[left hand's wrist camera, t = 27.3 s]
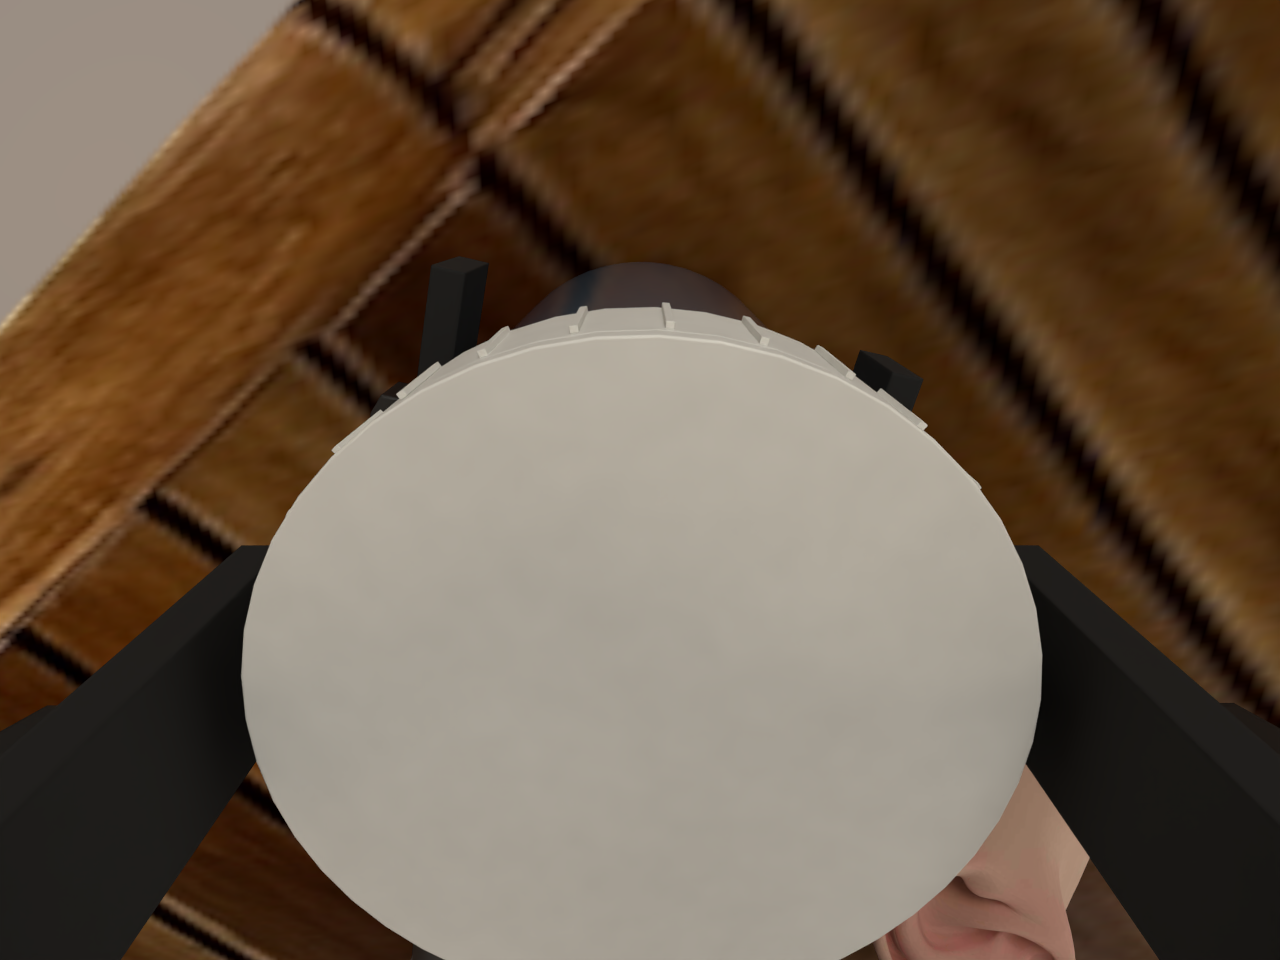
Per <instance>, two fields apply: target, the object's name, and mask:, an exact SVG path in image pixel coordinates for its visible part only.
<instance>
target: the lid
mask: <svg viewBox="0 0 1280 960" xmlns="http://www.w3.org/2000/svg"><path fill="white" fill-rule="evenodd" d="M855 375H856V374H855V373H854V372H852V371H851V370H850V369H849V368H848V367H846V366H845V365H844V364H843V363H841V362H840V361H839V360H838V359H836V358H835V357H834V356H833V355H832V354H830V353H829V352H828V351H827V350H825V349H824V348H823V347H821V346H819V345H817V347H816V349H815V350H813V349H811V348H810V347H808V346H806V345H804V344H803V343H801V342H799V341H796V340H794V339H791V338H789V337H786V336H784V335H781V334H778V333H776V332H773V331H771V330H768V329H766V328H763V327H760V326H758V325H757V324H756V323H755V322H754V321H753V320H752V319H751V318H750V317H747V316H743V318H742V321H740V320H736V319H731V318H727V317H723V316H719V315H715V314H711V313H707V312H699V311H689V310H679V309H671V306H670V303H662V308H659V307H641V308H609V309H600V310H594V311H588V308H587V306H582V307H580V308H579V309H578V311H577V313H575V314H569V315H563V316H557V317H553V318H550V319H547V320H543V321H540V322H537V323H534V324H531V325H527V326H524V327H521V328H518V329H514V330H511V331H510V329H509V327H508V326H506V327H504V328H502V329H500V330H499V331H498V332H497V333H496V334H495V335H494V336H493V337H492V338H491V339H490V340H489V341H486V342H484V343H482V344H480V345H478V346H476V347H474V348H471V349H469V350H467V351H465V352H463V353H462V354H460V355H459V356H457V357H456V358H454V359H453V360H451V361H449V362H448V363H446V364H445V365H443V366H442V367H441V365H440V364H439V362H436V363H435V364H433V365H432V366H431V367H429V368H428V369H427V370H426V371H424V372H423V373H422V374H421V375H419V376H418V377H417V378H416V379H414V380H413V381H412V382H411V383H409V384H408V385H407V386H406V387H404V388H403V389H402V390H401V391H399V392H398V393H397V394H396V395H397V396H398V397H399V399H398V400H397V401H396V402H395V403H393V404H392V405H391V406H390V407H389V408H387V409H386V410H385V411H384V412H383V411H382V410H379V411H378V412H377V413H375V414H374V415H373V416H372V417H371V418H369V419H368V420H367V421H366V422H364V423H363V424H362V425H361V426H359V427H358V428H357V429H356V430H354V431H353V432H352V433H351V434H350V435H348V436H347V437H346V438H345V439H343V440H342V441H341V442H340V443H338V444H337V445H336V446H335V447H334V448H333V449H332V452H334V453H335V454H334V455H333V456H332V457H331V458H330V459H329V461H328V462H327V463H326V464H325V465H324V466H323V468H322V469H321V470H320V471H319V472H318V474H317V475H316V476H315V477H314V478H313V480H312V481H311V482H310V483H309V484H308V485H307V487H306V488H305V489H304V490H303V491H302V493H301V494H300V495H299V496H298V498H297V499H296V501H295V503H294V504H293V506H292V508H291V509H290V510H289V511H288V512H287V514H286V517H285V519H284V521H283V522H282V524H281V526H280V527H279V529H278V531H277V532H276V534H275V536H274V537H273V539H272V541H271V544H270V546H269V549H268V551H267V554H266V556H265V559H264V561H263V564H262V566H261V568H260V571H259V573H258V576H257V578H256V581H255V583H254V587H253V591H252V596H251V600H250V605H249V609H248V614H247V618H246V623H245V627H244V636H243V653H242V671H241V679H242V689H243V699H244V709H245V719H246V723H247V727H248V731H249V735H250V738H251V742H252V746H253V750H254V754H255V758H256V761H257V764H258V766H259V768H260V771H261V773H262V776H263V778H264V780H265V783H266V785H267V787H268V790H269V792H270V794H271V797H272V799H273V801H274V803H275V805H276V806H277V808H278V810H279V811H280V813H281V815H282V816H283V818H284V819H285V821H286V823H287V824H288V826H289V828H290V829H291V831H292V833H293V834H294V836H295V838H296V839H297V840H298V841H299V843H300V844H301V845H302V846H303V848H304V849H305V850H306V851H307V853H308V854H309V855H310V857H311V858H312V859H313V860H314V862H315V863H316V864H317V865H318V867H319V868H320V869H321V870H322V871H323V872H324V873H325V874H326V875H327V876H328V877H329V878H330V879H331V880H332V881H333V882H334V883H335V884H336V885H337V886H338V887H339V888H340V889H341V890H342V891H343V892H344V893H345V894H346V895H347V896H348V897H349V898H350V899H351V900H352V901H354V902H355V903H356V904H357V905H359V906H360V907H361V908H363V909H364V910H365V911H366V912H368V913H369V914H370V915H372V916H373V917H374V918H375V919H377V920H378V921H379V922H381V923H382V924H383V925H384V926H386V927H387V928H389V929H391V930H392V931H394V932H395V933H397V934H399V935H400V936H402V937H404V938H405V939H407V940H408V941H410V942H412V943H413V944H415V945H416V946H418V947H420V948H421V949H423V950H425V951H427V952H429V953H432V954H434V955H436V956H438V957H440V958H442V959H444V960H840V959H842V958H844V957H846V956H848V955H850V954H852V953H853V952H855V951H857V950H859V949H861V948H863V947H864V946H866V945H868V944H870V943H872V942H874V941H876V940H877V939H879V938H881V937H882V936H883V935H885V934H886V933H888V932H889V931H891V930H892V929H894V928H895V927H897V926H898V925H899V924H901V923H902V922H904V921H905V920H907V919H908V918H910V917H911V916H913V915H914V914H915V913H916V912H917V911H919V910H920V909H921V908H922V907H923V906H924V905H926V904H927V903H928V902H929V901H930V900H931V899H932V898H934V897H935V896H936V895H937V894H938V893H939V892H941V891H942V890H943V889H944V888H945V887H946V886H947V885H948V884H949V883H950V882H951V881H952V880H953V879H954V877H955V876H956V875H957V874H958V873H959V872H960V871H961V870H962V869H963V868H964V866H965V865H966V864H967V863H968V862H969V861H970V860H971V859H972V858H973V857H974V856H975V854H976V853H977V851H978V850H979V848H980V847H981V846H982V844H983V843H984V841H985V840H986V839H987V837H988V836H989V834H990V833H991V831H992V830H993V829H994V827H995V826H996V824H997V823H998V821H999V820H1000V818H1001V816H1002V814H1003V812H1004V810H1005V808H1006V806H1007V804H1008V803H1009V801H1010V799H1011V797H1012V795H1013V793H1014V791H1015V789H1016V787H1017V785H1018V783H1019V781H1020V778H1021V775H1022V772H1023V769H1024V766H1025V763H1026V761H1027V758H1028V755H1029V752H1030V749H1031V746H1032V743H1033V739H1034V734H1035V729H1036V723H1037V718H1038V713H1039V707H1040V702H1041V682H1042V649H1041V642H1040V634H1039V627H1038V619H1037V611H1036V606H1035V603H1034V600H1033V597H1032V593H1031V590H1030V587H1029V583H1028V580H1027V577H1026V573H1025V570H1024V567H1023V564H1022V562H1021V559H1020V557H1019V555H1018V553H1017V551H1016V549H1015V547H1014V545H1013V543H1012V541H1011V539H1010V537H1009V535H1008V533H1007V531H1006V529H1005V527H1004V525H1003V523H1002V521H1001V519H1000V518H999V516H998V515H997V513H996V512H995V510H994V509H993V508H992V506H991V505H990V503H989V502H988V501H987V499H986V498H985V496H984V495H983V493H982V492H981V491H980V489H981V486H980V485H979V483H978V482H977V481H976V480H974V479H973V478H972V477H971V476H970V475H968V474H967V473H966V472H965V471H964V470H963V469H962V467H961V466H960V465H959V464H958V463H957V462H956V461H955V460H954V459H953V458H952V457H951V456H950V455H949V454H948V453H947V452H946V451H945V450H944V449H943V448H942V447H941V446H940V445H939V444H938V443H937V442H936V441H935V440H934V439H933V438H932V437H931V436H930V435H928V434H927V433H926V432H925V431H923V430H924V429H925V428H926V427H927V424H926V423H924V422H923V421H922V420H921V419H920V418H918V417H917V416H916V415H914V414H913V413H912V412H911V411H909V410H908V409H907V408H906V407H904V406H903V405H902V404H900V403H899V402H898V401H897V400H895V399H894V398H893V397H891V396H890V395H889V394H888V393H886V392H885V391H884V390H883V389H880V390H879V391H878V392H876V391H874V390H873V389H872V388H870V387H869V386H868V385H866V384H865V383H864V382H862V381H861V380H860V379H859V378H857V377H856V376H855Z"/></svg>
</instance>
